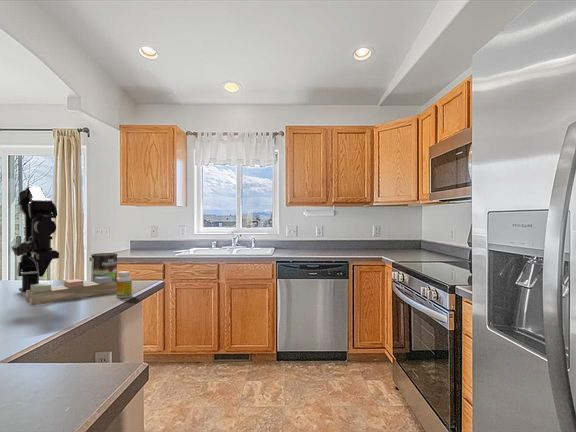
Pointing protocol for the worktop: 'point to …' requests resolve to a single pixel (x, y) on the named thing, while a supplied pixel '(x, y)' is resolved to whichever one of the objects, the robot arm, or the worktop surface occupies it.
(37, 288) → the sage key
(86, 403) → the worktop surface
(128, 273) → the supplement bottle
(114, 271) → the coffee can
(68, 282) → the terracotta key
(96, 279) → the slate key
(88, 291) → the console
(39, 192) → the robot arm
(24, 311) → the worktop surface
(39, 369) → the worktop surface
